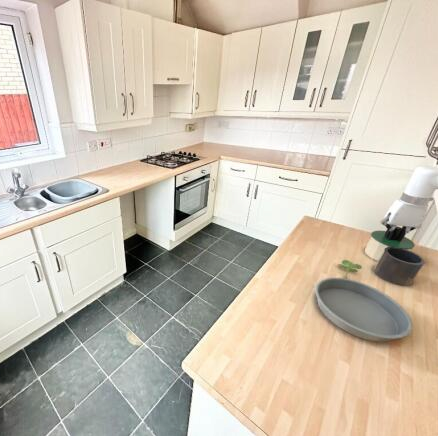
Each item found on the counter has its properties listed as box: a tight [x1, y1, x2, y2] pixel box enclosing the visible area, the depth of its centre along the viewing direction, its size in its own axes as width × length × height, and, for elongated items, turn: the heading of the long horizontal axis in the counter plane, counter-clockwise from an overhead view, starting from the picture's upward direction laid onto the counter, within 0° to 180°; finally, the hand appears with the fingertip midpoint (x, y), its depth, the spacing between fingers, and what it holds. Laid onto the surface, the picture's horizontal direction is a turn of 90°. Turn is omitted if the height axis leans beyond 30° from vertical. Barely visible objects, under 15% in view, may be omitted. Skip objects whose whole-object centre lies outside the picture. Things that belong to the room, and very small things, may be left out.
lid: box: [370, 225, 416, 250], centre depth 101 cm, size 14×14×7 cm
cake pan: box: [315, 277, 414, 343], centre depth 79 cm, size 25×25×4 cm
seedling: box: [337, 259, 362, 278], centre depth 96 cm, size 7×8×7 cm
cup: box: [373, 247, 426, 286], centre depth 93 cm, size 11×11×10 cm
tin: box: [364, 235, 412, 262], centre depth 104 cm, size 13×13×8 cm
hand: (392, 238), depth 102 cm, fingers open, 3 cm apart
